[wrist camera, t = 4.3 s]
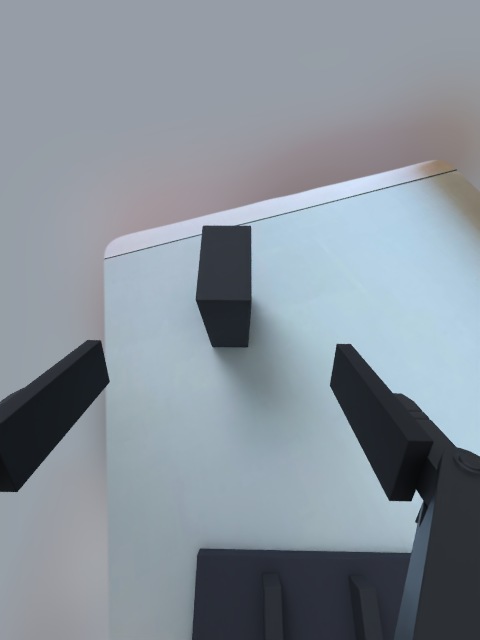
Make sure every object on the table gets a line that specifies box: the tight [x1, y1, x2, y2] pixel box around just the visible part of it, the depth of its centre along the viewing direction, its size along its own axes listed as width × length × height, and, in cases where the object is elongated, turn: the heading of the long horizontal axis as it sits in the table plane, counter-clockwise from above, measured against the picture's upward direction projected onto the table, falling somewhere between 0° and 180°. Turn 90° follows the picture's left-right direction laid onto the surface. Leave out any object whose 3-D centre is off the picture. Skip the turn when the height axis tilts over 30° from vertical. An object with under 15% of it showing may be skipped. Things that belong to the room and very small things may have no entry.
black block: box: [196, 226, 251, 347], centre depth 25 cm, size 4×7×11 cm, turn 179°
